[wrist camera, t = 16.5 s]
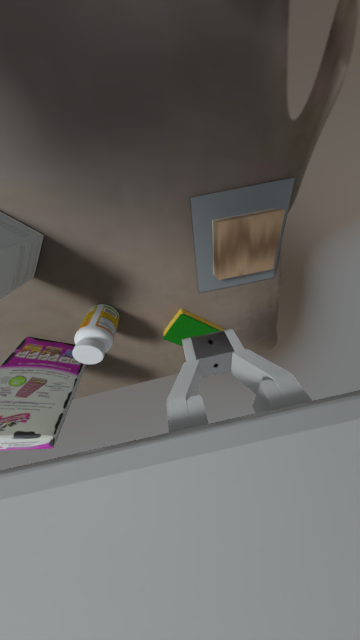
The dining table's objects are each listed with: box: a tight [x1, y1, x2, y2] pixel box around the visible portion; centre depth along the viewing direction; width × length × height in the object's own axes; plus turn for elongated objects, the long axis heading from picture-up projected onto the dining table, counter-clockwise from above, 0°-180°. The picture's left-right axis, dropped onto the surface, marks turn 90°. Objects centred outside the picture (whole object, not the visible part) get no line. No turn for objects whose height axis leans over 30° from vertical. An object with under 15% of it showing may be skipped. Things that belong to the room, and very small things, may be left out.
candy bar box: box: [0, 337, 86, 450], centre depth 27 cm, size 11×5×16 cm, turn 67°
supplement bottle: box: [72, 304, 119, 364], centre depth 26 cm, size 5×5×10 cm
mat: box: [190, 177, 295, 293], centre depth 25 cm, size 14×14×1 cm
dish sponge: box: [163, 309, 226, 346], centre depth 35 cm, size 7×14×2 cm, turn 58°
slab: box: [212, 209, 285, 280], centre depth 24 cm, size 8×2×9 cm
